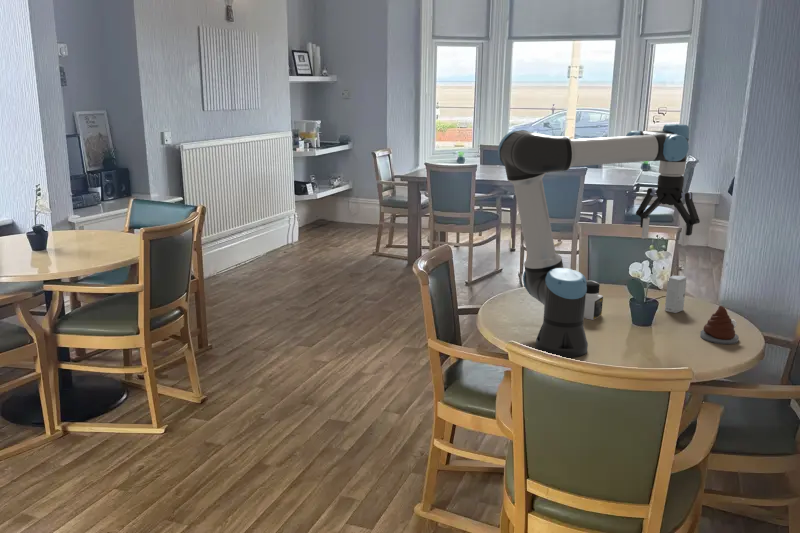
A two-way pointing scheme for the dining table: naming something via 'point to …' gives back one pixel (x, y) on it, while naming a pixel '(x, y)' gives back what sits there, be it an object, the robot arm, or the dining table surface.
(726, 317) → the poop emoji
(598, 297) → the medicine bottle
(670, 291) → the skincare box
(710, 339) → the coaster
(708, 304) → the dining table surface
